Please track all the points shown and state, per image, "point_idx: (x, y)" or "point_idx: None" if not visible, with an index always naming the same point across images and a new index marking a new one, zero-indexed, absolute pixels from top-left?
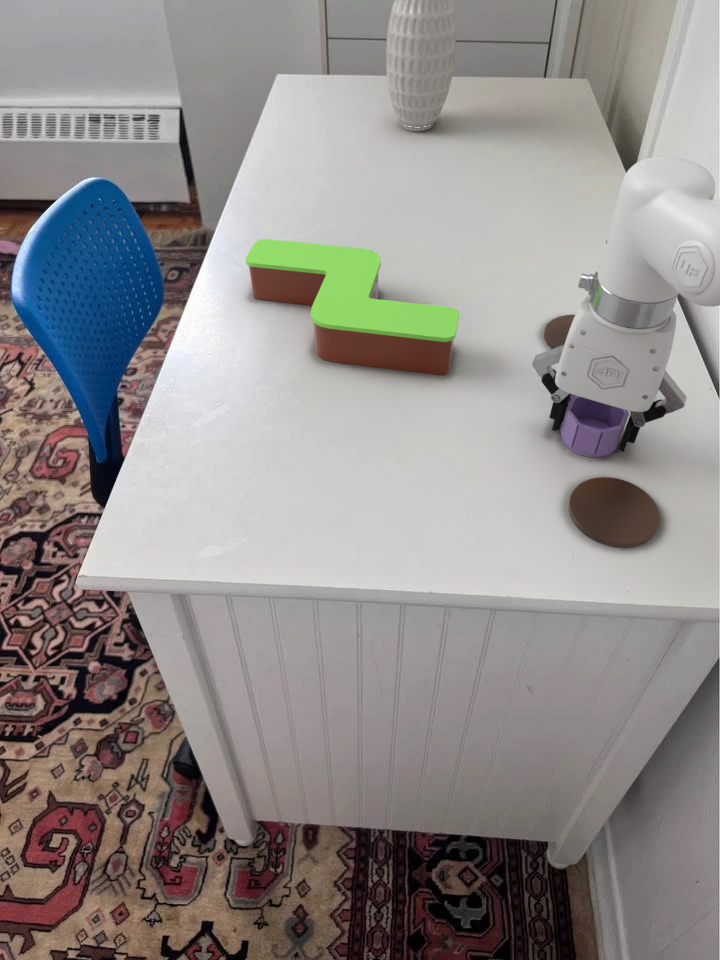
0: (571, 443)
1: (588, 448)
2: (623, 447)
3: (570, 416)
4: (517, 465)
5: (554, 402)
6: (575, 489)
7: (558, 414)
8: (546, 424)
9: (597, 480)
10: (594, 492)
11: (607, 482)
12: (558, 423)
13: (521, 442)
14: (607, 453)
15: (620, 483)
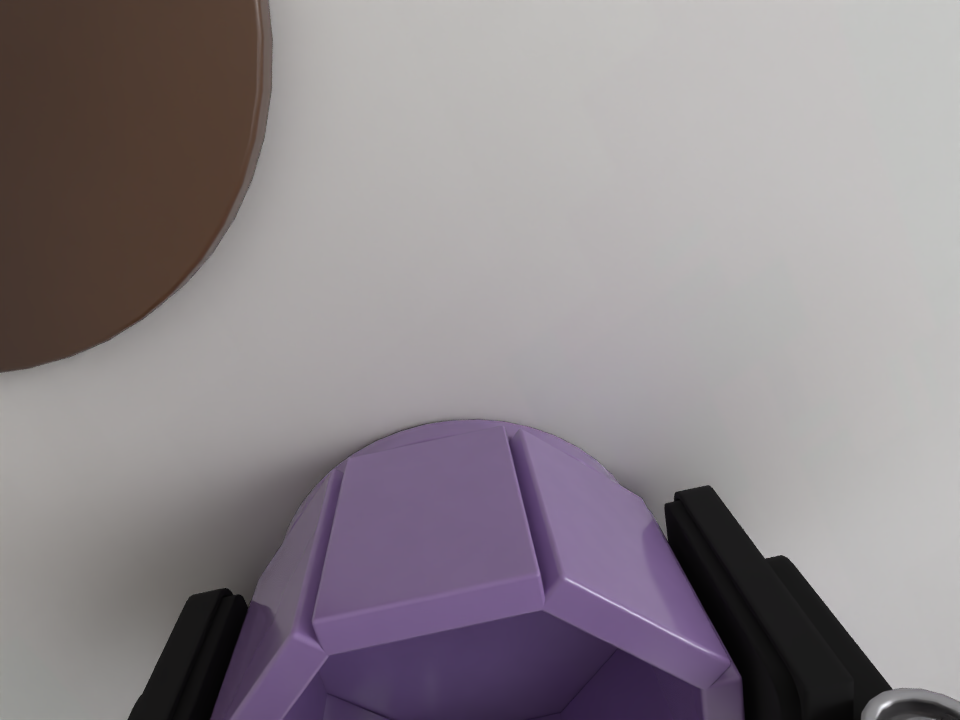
0: (527, 444)
1: (393, 470)
2: (190, 621)
3: (669, 629)
4: (788, 24)
5: (877, 687)
6: (250, 14)
7: (765, 598)
8: (747, 524)
9: (172, 236)
10: (107, 90)
11: (100, 267)
12: (703, 541)
13: (842, 277)
14: (288, 530)
15: (20, 321)
